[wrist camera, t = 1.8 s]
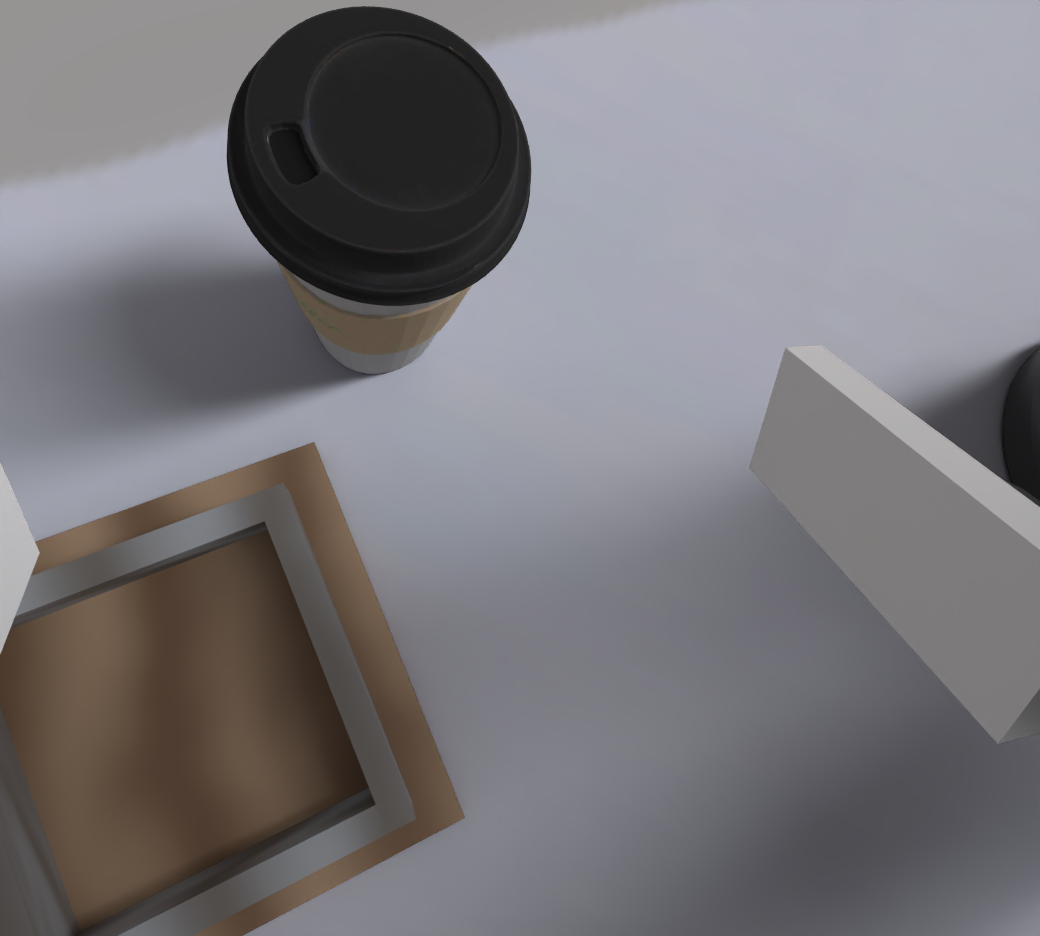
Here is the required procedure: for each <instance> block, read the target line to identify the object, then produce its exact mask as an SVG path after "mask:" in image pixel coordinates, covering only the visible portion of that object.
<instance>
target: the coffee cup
mask: <svg viewBox="0 0 1040 936" xmlns="http://www.w3.org/2000/svg"><path fill="white" fill-rule="evenodd" d="M227 166H228V174H229V180H230V185H231V188H232V192H233V195H234V198H235V201H236V203H237V206H238V208H239V210H240V212H241V214H242V216H243V218H244V220H245V222H246V223H247V225H248V227H249V228H250V230H251V232H252V233H253V234H254V236H255V237H256V238H257V240H258V241H259V242H260V244H261V245H262V246H263V247H264V248H265V249H266V250H267V251H268V252H269V254H270V255H272V256H273V257H274V258H275V259H276V260H277V262H278V264H279V266H280V268H281V270H282V272H283V274H284V276H285V278H286V280H287V282H288V284H289V286H290V288H291V290H292V292H293V295H294V297H295V299H296V301H297V303H298V305H299V306H300V308H301V310H302V311H303V313H304V314H305V316H306V318H307V319H308V320H309V322H310V323H311V324H312V325H313V327H314V329H315V331H316V333H317V335H318V337H319V339H320V341H321V342H322V344H323V345H324V347H325V349H326V350H327V351H328V352H329V353H330V354H331V355H332V357H333V358H334V359H336V360H337V361H338V362H339V363H341V364H342V365H343V366H345V367H347V368H349V369H351V370H354V371H357V372H362V373H367V374H379V373H386V372H391V371H394V370H397V369H400V368H402V367H404V366H406V365H408V364H409V363H411V362H413V361H414V360H415V359H416V358H418V357H419V356H420V355H421V354H422V353H423V352H424V351H425V349H426V348H427V347H428V346H429V344H430V343H431V341H432V339H433V338H434V336H435V335H436V333H437V332H438V331H440V330H441V329H442V327H443V326H444V325H445V324H446V323H447V322H448V320H449V319H450V318H451V316H452V315H453V313H454V312H455V310H456V309H457V307H458V306H459V304H460V303H461V301H462V300H463V298H464V296H465V295H466V293H467V292H468V290H469V289H470V287H471V286H472V285H473V284H475V283H476V282H478V281H479V280H480V279H482V278H483V277H484V276H486V275H487V274H488V273H489V272H490V271H491V270H493V269H494V268H495V267H496V266H497V265H498V264H499V262H500V261H501V260H502V259H503V258H504V257H505V255H506V254H507V253H508V251H509V250H510V249H511V247H512V245H513V244H514V242H515V240H516V239H517V236H518V234H519V232H520V230H521V228H522V225H523V222H524V220H525V216H526V212H527V209H528V203H529V196H530V183H531V158H530V150H529V145H528V141H527V136H526V133H525V130H524V127H523V124H522V122H521V119H520V117H519V115H518V112H517V111H516V109H515V107H514V105H513V103H512V101H511V100H510V98H509V96H508V94H507V92H506V90H505V88H504V86H503V85H502V83H501V81H500V80H499V78H498V76H497V75H496V73H495V72H494V71H493V69H492V68H491V67H490V65H489V64H488V63H487V62H486V61H485V60H484V58H483V57H482V56H481V55H480V54H479V53H478V52H477V51H476V50H475V49H474V48H473V47H471V46H470V45H469V44H468V43H467V42H465V41H464V40H463V39H461V38H460V37H459V36H457V35H456V34H454V33H453V32H451V31H449V30H448V29H446V28H445V27H443V26H441V25H439V24H437V23H435V22H433V21H431V20H428V19H426V18H424V17H421V16H418V15H415V14H412V13H408V12H405V11H401V10H396V9H391V8H383V7H366V6H362V7H349V8H342V9H337V10H332V11H328V12H325V13H322V14H319V15H316V16H314V17H311V18H309V19H307V20H305V21H303V22H301V23H299V24H298V25H296V26H294V27H293V28H292V29H290V30H289V31H287V32H286V33H285V34H283V35H282V36H281V37H280V38H279V39H278V40H277V41H276V42H275V43H274V44H273V45H272V46H271V47H270V48H269V50H268V51H267V52H266V53H265V55H264V56H263V57H262V58H261V59H260V60H259V61H258V62H257V63H256V65H255V66H254V67H253V68H252V69H251V71H250V72H249V73H248V75H247V77H246V78H245V80H244V81H243V83H242V85H241V87H240V89H239V91H238V93H237V95H236V98H235V101H234V103H233V106H232V110H231V114H230V118H229V125H228V139H227Z"/></svg>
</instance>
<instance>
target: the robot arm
mask: <svg viewBox="0 0 1040 936" xmlns="http://www.w3.org/2000/svg"><path fill="white" fill-rule="evenodd" d="M1003 436H1004V448H1005V455H1006V461H1007V465H1008V470H1009V473H1010V477H1011V480H1012V483H1013V484H1012V483H1010V482H1008V481H1006V480H1004V479H1002V478H1000V477H998V476H997V475H996V474H994V473H993V472H992V471H990V470H989V469H987V468H986V467H985V466H983V465H982V464H981V463H979V462H978V461H977V460H975V459H974V458H973V457H971V456H970V455H969V454H967V453H966V452H964V451H963V450H962V449H960V448H959V447H958V446H956V445H955V444H954V443H952V442H951V441H950V440H948V439H947V438H946V437H944V436H943V435H942V434H940V433H939V432H937V431H936V430H935V429H933V428H932V427H931V426H929V425H928V424H927V423H925V422H924V421H923V420H921V419H920V418H919V417H917V416H916V415H914V414H913V413H912V412H910V411H909V410H908V409H906V408H905V407H904V406H902V405H901V404H900V403H898V402H897V401H896V400H894V399H893V398H892V397H890V396H889V395H887V394H886V393H885V392H883V391H882V390H881V389H879V388H878V387H877V386H875V385H874V384H873V383H871V382H870V381H869V380H867V379H866V378H865V377H863V376H862V375H860V374H859V373H858V372H856V371H855V370H854V369H852V368H851V367H850V366H848V365H847V364H846V363H844V362H843V361H842V360H840V359H839V358H837V357H836V356H835V355H833V354H832V353H831V352H829V351H828V350H827V349H825V348H824V347H823V346H821V345H815V346H801V347H787V348H785V351H784V354H783V358H782V361H781V364H780V368H779V371H778V374H777V378H776V381H775V384H774V388H773V391H772V394H771V398H770V401H769V404H768V408H767V411H766V414H765V418H764V421H763V424H762V427H761V431H760V434H759V437H758V441H757V444H756V447H755V451H754V454H753V457H752V461H751V464H750V467H749V468H750V469H751V470H752V471H753V472H754V474H755V475H756V476H757V477H758V478H759V479H760V480H761V481H762V482H763V484H764V485H765V486H766V487H767V488H768V489H769V490H770V491H771V492H772V494H773V495H774V496H775V497H776V498H777V499H778V500H779V501H780V502H781V504H782V505H783V506H784V507H785V508H786V509H787V510H788V511H789V512H790V514H791V515H792V516H793V517H794V518H795V519H796V520H797V521H798V522H799V524H800V525H801V526H802V527H803V528H804V529H805V530H806V531H807V532H808V534H809V535H810V536H811V537H812V538H813V539H814V540H815V541H816V542H817V544H818V545H819V546H820V547H821V548H822V549H823V550H824V551H825V552H826V554H827V555H828V556H829V557H830V558H831V559H832V560H833V561H834V562H835V564H836V565H837V566H838V567H839V568H840V569H841V570H842V571H843V572H844V574H845V575H846V576H847V577H848V578H849V579H850V580H851V581H852V582H853V584H854V585H855V586H856V587H857V588H858V589H859V590H860V591H861V592H862V594H863V595H864V596H865V597H866V598H867V599H868V600H869V601H870V602H871V604H872V605H873V606H874V607H875V608H876V609H877V610H878V611H879V612H880V614H881V615H882V616H883V617H884V618H885V619H886V620H887V621H888V622H889V624H890V625H891V626H892V627H893V628H894V629H895V630H896V631H897V632H898V634H899V635H900V636H901V637H902V638H903V639H904V640H905V641H906V642H907V644H908V645H909V646H910V647H911V648H912V649H913V650H914V651H915V652H916V654H917V655H918V656H919V657H920V658H921V659H922V660H923V661H924V662H925V664H926V665H927V666H928V667H929V668H930V669H931V670H932V671H933V672H934V674H935V675H936V676H937V677H938V678H939V679H940V680H941V681H942V682H943V684H944V685H945V686H946V687H947V688H948V689H949V690H950V691H951V692H952V694H953V695H954V696H955V697H956V698H957V699H958V700H959V701H960V702H961V704H962V705H963V706H964V707H965V708H966V709H967V710H968V711H969V712H970V714H971V715H972V716H973V717H974V718H975V719H976V720H977V721H978V722H979V724H980V725H981V726H982V727H983V728H984V729H985V730H986V731H987V732H988V734H989V735H990V736H991V737H992V738H993V739H994V740H995V741H996V742H997V744H1000V743H1004V742H1008V741H1012V740H1016V739H1020V738H1024V737H1028V736H1032V735H1036V734H1040V349H1038V350H1037V351H1036V352H1035V353H1034V354H1032V355H1031V356H1030V357H1029V359H1028V360H1027V361H1026V362H1025V363H1024V365H1023V366H1022V367H1021V369H1020V370H1019V372H1018V374H1017V375H1016V377H1015V379H1014V381H1013V384H1012V386H1011V389H1010V392H1009V395H1008V398H1007V402H1006V407H1005V414H1004V425H1003ZM39 553H40V552H39V550H38V548H37V545H36V543H35V541H34V538H33V536H32V534H31V532H30V529H29V527H28V525H27V522H26V520H25V518H24V516H23V513H22V511H21V509H20V506H19V504H18V502H17V500H16V497H15V495H14V493H13V490H12V488H11V486H10V483H9V481H8V479H7V477H6V474H5V472H4V470H3V467H2V465H1V463H0V654H1V651H2V649H3V646H4V643H5V641H6V638H7V636H8V633H9V631H10V628H11V625H12V623H13V620H14V618H15V615H16V612H17V610H18V607H19V605H20V602H21V600H22V597H23V594H24V592H25V589H26V587H27V584H28V581H29V579H30V576H31V574H32V571H33V569H34V566H35V563H36V561H37V558H38V556H39Z"/></svg>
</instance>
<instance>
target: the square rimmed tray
mask: <svg viewBox="0 0 1040 936" xmlns="http://www.w3.org/2000/svg"><path fill="white" fill-rule="evenodd" d="M35 543H36V545H37V548H38V550H39V552H40V553H39V556H38V558H37V561H36V563H35V566H34V569H33V571H32V574H31V576H30V579H29V581H28V584H27V587H26V589H25V592H24V594H23V597H22V600H21V602H20V605H19V607H18V610H17V612H16V615H15V618H14V620H13V623H12V625H11V628H10V631H9V633H8V636H7V638H6V641H5V643H4V646H3V649H2V651H1V654H0V936H243V935H244V934H246V933H248V932H250V931H252V930H254V929H256V928H258V927H260V926H261V925H263V924H265V923H267V922H269V921H271V920H273V919H275V918H277V917H278V916H280V915H282V914H284V913H286V912H288V911H290V910H292V909H294V908H295V907H297V906H299V905H301V904H303V903H305V902H307V901H309V900H310V899H312V898H314V897H316V896H318V895H320V894H322V893H324V892H326V891H327V890H329V889H331V888H333V887H335V886H337V885H339V884H341V883H343V882H344V881H346V880H348V879H350V878H352V877H354V876H356V875H358V874H360V873H361V872H363V871H365V870H367V869H369V868H371V867H373V866H375V865H377V864H378V863H380V862H382V861H384V860H386V859H388V858H390V857H392V856H393V855H395V854H397V853H399V852H401V851H403V850H405V849H407V848H409V847H410V846H412V845H414V844H416V843H418V842H420V841H422V840H424V839H426V838H427V837H429V836H431V835H433V834H435V833H437V832H439V831H441V830H443V829H444V828H446V827H448V826H450V825H452V824H454V823H456V822H458V821H460V820H461V819H463V818H465V817H464V814H463V812H462V809H461V807H460V804H459V802H458V799H457V797H456V794H455V792H454V789H453V787H452V784H451V782H450V779H449V777H448V774H447V772H446V769H445V767H444V764H443V762H442V759H441V757H440V754H439V752H438V749H437V747H436V744H435V742H434V740H433V737H432V735H431V732H430V730H429V727H428V725H427V722H426V720H425V717H424V715H423V712H422V710H421V707H420V705H419V702H418V700H417V697H416V695H415V692H414V690H413V687H412V685H411V682H410V680H409V677H408V675H407V672H406V670H405V667H404V665H403V662H402V660H401V657H400V655H399V652H398V650H397V647H396V645H395V642H394V640H393V637H392V635H391V632H390V630H389V627H388V625H387V622H386V620H385V617H384V615H383V612H382V610H381V607H380V605H379V602H378V600H377V597H376V595H375V592H374V590H373V587H372V585H371V583H370V580H369V578H368V575H367V573H366V570H365V568H364V565H363V563H362V560H361V558H360V555H359V553H358V550H357V548H356V545H355V543H354V540H353V538H352V535H351V533H350V530H349V528H348V525H347V523H346V520H345V518H344V515H343V513H342V510H341V508H340V505H339V503H338V500H337V498H336V495H335V493H334V490H333V488H332V485H331V483H330V480H329V478H328V475H327V473H326V470H325V468H324V465H323V463H322V460H321V458H320V455H319V453H318V450H317V448H316V445H315V443H314V442H313V443H310V444H307V445H305V446H302V447H299V448H296V449H293V450H291V451H288V452H285V453H282V454H279V455H277V456H274V457H271V458H268V459H266V460H263V461H260V462H257V463H254V464H252V465H249V466H246V467H243V468H241V469H238V470H235V471H232V472H229V473H227V474H224V475H221V476H218V477H215V478H213V479H210V480H207V481H204V482H202V483H199V484H196V485H193V486H190V487H188V488H185V489H182V490H179V491H176V492H174V493H171V494H168V495H165V496H163V497H160V498H157V499H154V500H151V501H149V502H146V503H143V504H140V505H137V506H135V507H132V508H129V509H126V510H124V511H121V512H118V513H115V514H112V515H110V516H107V517H104V518H101V519H98V520H96V521H93V522H90V523H87V524H85V525H82V526H79V527H76V528H73V529H71V530H68V531H65V532H62V533H59V534H57V535H54V536H51V537H48V538H46V539H43V540H40V541H37V542H35Z"/></svg>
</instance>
